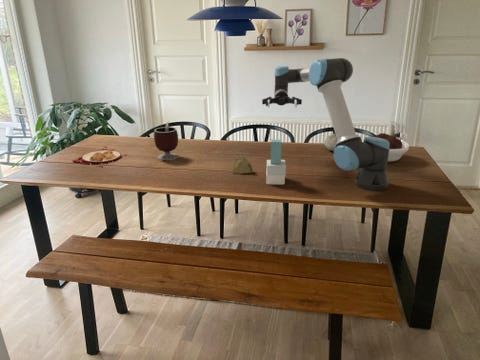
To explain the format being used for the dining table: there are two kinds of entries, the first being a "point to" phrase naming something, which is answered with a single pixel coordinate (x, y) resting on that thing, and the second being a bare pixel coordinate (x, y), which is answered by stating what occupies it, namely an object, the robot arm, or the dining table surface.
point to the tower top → (276, 168)
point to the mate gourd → (166, 141)
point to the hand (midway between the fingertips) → (282, 104)
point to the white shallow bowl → (394, 146)
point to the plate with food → (99, 156)
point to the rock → (242, 165)
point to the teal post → (276, 151)
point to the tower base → (275, 179)
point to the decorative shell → (331, 142)
